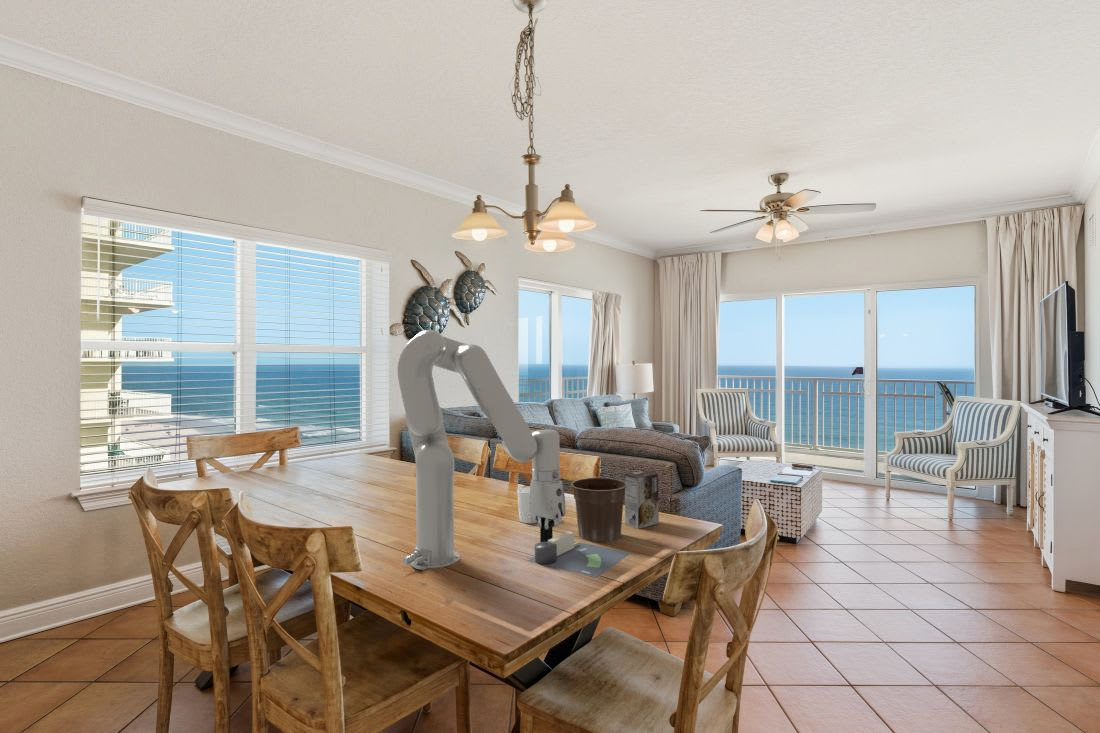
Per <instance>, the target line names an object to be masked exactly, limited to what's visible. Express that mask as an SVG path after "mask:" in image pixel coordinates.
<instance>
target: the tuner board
mask: <svg viewBox="0 0 1100 733" xmlns="http://www.w3.org/2000/svg"><path fill="white" fill-rule="evenodd" d="M576 542H578V541H576V540H574V543H576ZM579 542H580V541H579ZM630 554H631V552H628V551H623V550H618V549H613V548H608V547H605V546H604V547H603V546H599V545H595V544H589V543H586V542H585V543H584V542H582V541H581V542H580V544H578V545H576V546H574V548H573V549H571V550H569V551H567V552H565V553H563V554H560V555H558V556H557V560H556V561H555V562H553V563H548V564H543V563H538V562H536V561H535V556H533V557H531V558H529V559H528V560H527V562H531V563H535V564H539V565H543V566H547V567H552V568H554V569H559V570H562V571H567V572H571V573H574V574H579V575H583V576H587V577H589V578H590V577H591V578H595V579H598V577H600V576H601V575H603V574H604V573H605V572H607V571H608V570H609V569H611V568H613V567H614V566H615V565H616V564H618V563H619V562H621V561H622V560H623V559H625V558H626V557H628V556H629V555H630Z"/></svg>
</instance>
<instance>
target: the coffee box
mask: <svg viewBox="0 0 1100 733" xmlns="http://www.w3.org/2000/svg"><path fill="white" fill-rule="evenodd" d="M624 482H626V483H627V487H626V488H625V498H624V521H625V522H624V524H625V525H626V524H627V526H629V527H632V528H634V527H635V529H636V530H639V529H643V528H646V527H650V526H654V525H657V524H659V522H660V520H659V516H660V515H659V514H660V513H659V474H658V473H657V472H653V471H650V470H646V469H645V470H639V471H632V472H629V473H625V474H624Z"/></svg>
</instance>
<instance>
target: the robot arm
mask: <svg viewBox="0 0 1100 733" xmlns="http://www.w3.org/2000/svg"><path fill="white" fill-rule="evenodd" d="M434 366H435V367H438V368H440V369H443V370H447V371H450V372H453V373H457V374H460V376H461V378H462V379H463V381H464V383H465V384H466V386H467V387H468V388H467V389H468V390H469V391H470V393H471V396H472V397H473V399H474V401H475V402H476V404H477V406H478V407H479V409H480V411H481V412H482V413H483V415H484V416H485V417H486V418H487V419H488V420H489V421H490V422H491V423H492V425H493V426H494V427H493V428H495V430H496V431H497V433H498V435H499V436H500V438H501V440H502V441H501V442H502V443H501V446H502V448H503V450H504V452H505V453H506V454H507V455H508V456H509V457H511V458H512V459H513V460H514V461H515V462H518V463H527V462H530V461H531V468H532V469H531V473H532V474H531V475H532V476H531V480H530V484H529V487H530V492H529V510H530V512H531V516H532V517H533V518H535V519H536V520H537V526H538V528H539V532H540V535H539V537H540V538H539V541H540V542H548V540H550V539H552V538H554V537H553V534H554V533H553V528H554V527H555V526H556V525H560V524H562V523H563V519H562V517H565V516H566V497H565V496H566V495H565V489H564V484H563V481H562V480H561V478H562V474H561V473H560V472H561V471H560V470H561V468H560V467H561V466H560V463H561V462H560V434H559V432H558V431H557V430H554V429H549V428H547V429H537V430H531V429H530V427H529V425H528V423H527V421H526V420H525V419H524V417H523V415H522V414H521V412H520V410H519V408H518V407H517V405H516V404H515V402H514V399H513V398H512V397H511V395H510V394H509V392H508V391H507V388H506V387H505V385H504V383H503V381H502V380H501V378H500V376H499V374H498V371H496V369H495V367H494V365H493V364H492V361H491V360H490V359H489V356H488V355H487V353H486V351H485V350H484V349H483V348H482V347H481V346H480V345H477V344H473V343H472V344H471V343H469V344H468V343H465V342H464V343H463V342H461V341H457V340H454V339H452V338H449V337H446V336H443V335H442V334H441V333H440V332H438V331H436V330H433V329H425V330H422V331H420V332H418V333H417V334H416V335H414V337H412V338H411V339H410V340H409V341H408V343H406V345H405V346H404V348H402V351H401V353H400V355H399V358H398V362H397V380H398V384H399V389H400V394H401V399H402V403H403V407H404V411H405V413H404V415H405V418H404V419H405V422H406V425H407V426H406V427H407V429H408V434H409V438H410V442H411V445H412V449H413V453H414V458H415V506H416V507H415V508H416V509H415V510H416V511H415V512H416V513H415V515H416V516H415V518H416V523H415V524H416V546H415V547H413V552H412V553H411V554H410V555H406V556H404V557H402V560H401V561H402V564H403V566H407V565H411V566H412V567H413V568H414V569H416V570H419V571H425V570H427V569H431V568H432V569H435V568H443V567H448V566H450V565H454V564H455V563H456V562H458V561H459V560H460V559H461V554H460V553H459V552H458V551H455V526H454V525H455V516H454V515H455V511H454V510H455V507H454V506H455V504H454V503H455V501H454V498H455V497H454V496H455V494H454V493H455V492H454V486H455V485H454V484H455V481H454V479H455V455H454V453H453V451H452V447H451V446H450V444H449V441H448V437H447V433H446V429H445V424H444V415H443V411H442V408H441V407H440V403H439V400H438V395H437V392H436V387H435V382H434V379H433V378H434V377H433V368H434Z"/></svg>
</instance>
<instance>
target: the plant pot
mask: <svg viewBox="0 0 1100 733" xmlns="http://www.w3.org/2000/svg"><path fill="white" fill-rule="evenodd" d="M570 484H571V485H570V486H571V487H572V491H573V498H574V500H575V509H576V517H577V518H576V520H577V529H578V530H577V531H578V536H579V537H580V538H581V539H582V540H584V541H588V542H592V543H609V542H610V543H611V542H614V541H617V540H619V539H620V538H621V536H622V526H623V524H622V522H623V511H624V500H625V488H626V487H627V483H626V482H625V480H621V479H617V478H610V477H588V478H581V479H580V478H579V479H576V480H574V481H572V482H571V483H570Z"/></svg>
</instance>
